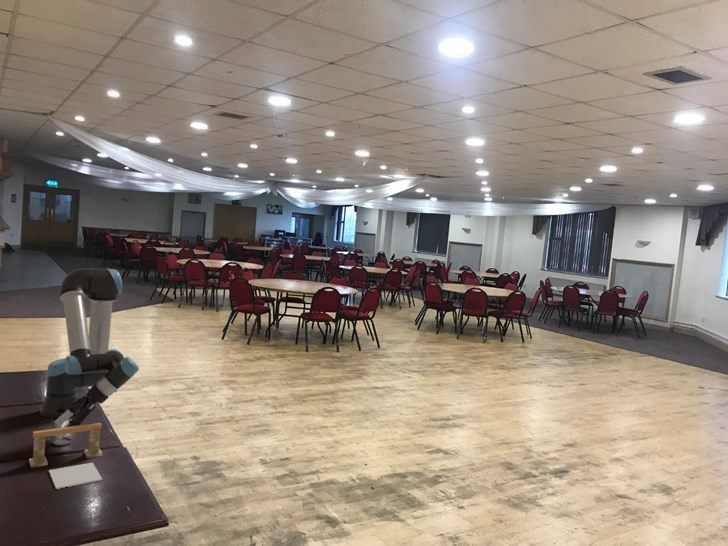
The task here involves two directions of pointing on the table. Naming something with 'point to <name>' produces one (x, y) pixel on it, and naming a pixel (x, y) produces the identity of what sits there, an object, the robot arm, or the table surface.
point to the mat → (74, 475)
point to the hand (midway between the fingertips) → (57, 430)
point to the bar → (66, 430)
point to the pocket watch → (57, 441)
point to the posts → (40, 449)
